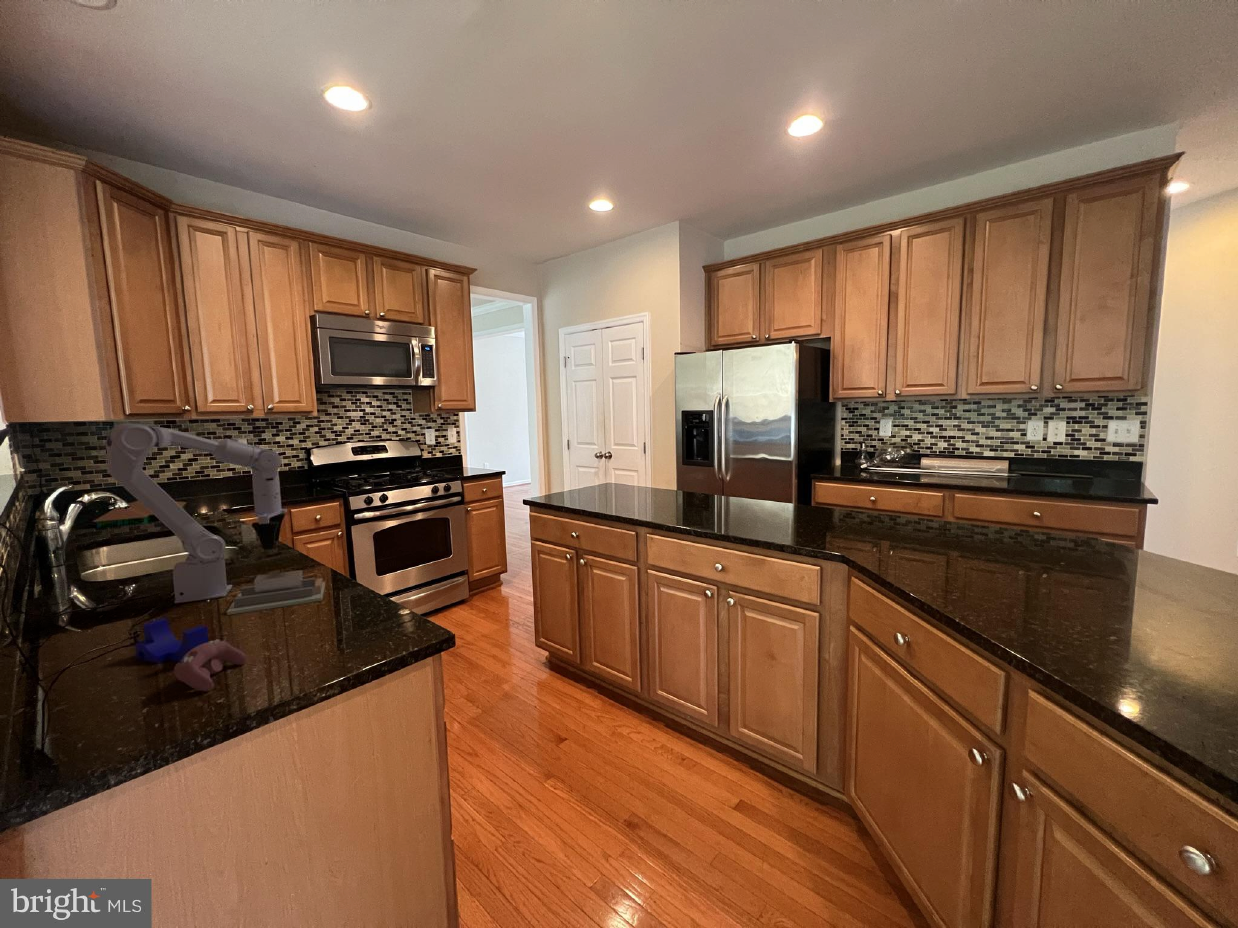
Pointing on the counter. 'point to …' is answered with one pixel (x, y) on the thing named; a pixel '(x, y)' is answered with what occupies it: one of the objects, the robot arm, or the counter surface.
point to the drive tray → (277, 597)
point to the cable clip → (168, 642)
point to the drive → (278, 582)
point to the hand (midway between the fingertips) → (271, 544)
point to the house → (129, 514)
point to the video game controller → (213, 656)
